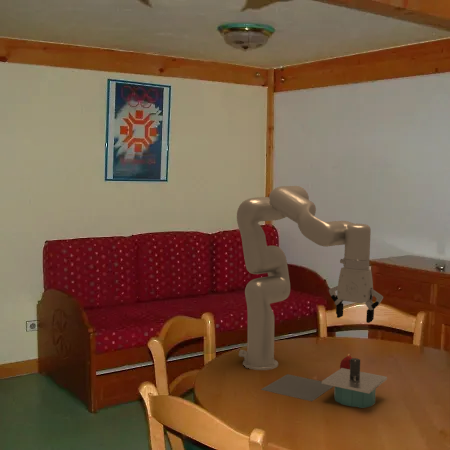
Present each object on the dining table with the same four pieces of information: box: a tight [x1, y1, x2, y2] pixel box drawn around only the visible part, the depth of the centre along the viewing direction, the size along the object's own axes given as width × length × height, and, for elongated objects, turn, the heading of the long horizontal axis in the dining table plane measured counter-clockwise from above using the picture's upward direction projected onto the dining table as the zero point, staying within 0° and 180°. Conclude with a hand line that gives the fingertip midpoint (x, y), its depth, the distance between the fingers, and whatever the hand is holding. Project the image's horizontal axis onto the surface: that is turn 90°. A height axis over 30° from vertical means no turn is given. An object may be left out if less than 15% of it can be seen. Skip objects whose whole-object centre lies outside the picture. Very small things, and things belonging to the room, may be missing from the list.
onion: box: [339, 353, 353, 369], centre depth 221 cm, size 6×6×8 cm
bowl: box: [333, 386, 377, 409], centre depth 199 cm, size 12×12×6 cm
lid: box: [321, 357, 388, 394], centre depth 199 cm, size 15×15×7 cm
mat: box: [260, 373, 335, 402], centre depth 210 cm, size 18×18×1 cm
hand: (354, 319), depth 200 cm, fingers open, 9 cm apart
